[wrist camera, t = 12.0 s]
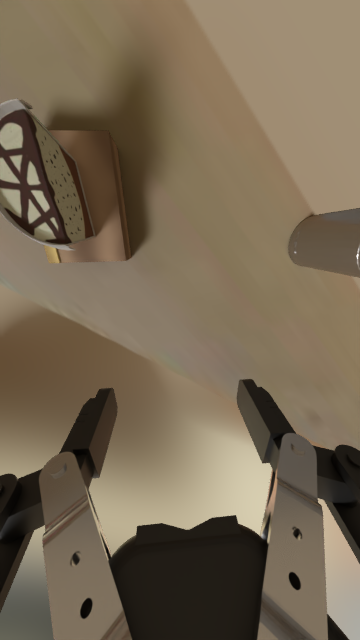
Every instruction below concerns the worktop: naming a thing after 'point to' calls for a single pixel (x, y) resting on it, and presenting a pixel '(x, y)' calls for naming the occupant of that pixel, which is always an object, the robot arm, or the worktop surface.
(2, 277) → the worktop surface
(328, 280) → the worktop surface
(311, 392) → the worktop surface
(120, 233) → the dock
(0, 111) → the food container
